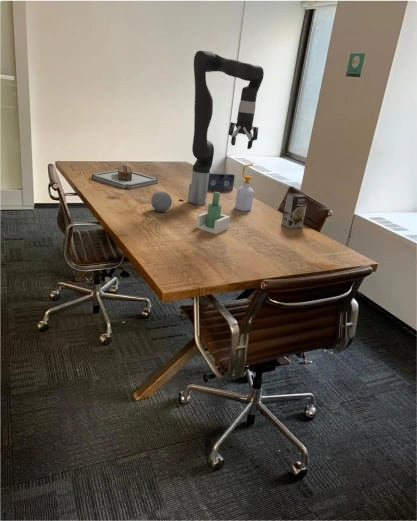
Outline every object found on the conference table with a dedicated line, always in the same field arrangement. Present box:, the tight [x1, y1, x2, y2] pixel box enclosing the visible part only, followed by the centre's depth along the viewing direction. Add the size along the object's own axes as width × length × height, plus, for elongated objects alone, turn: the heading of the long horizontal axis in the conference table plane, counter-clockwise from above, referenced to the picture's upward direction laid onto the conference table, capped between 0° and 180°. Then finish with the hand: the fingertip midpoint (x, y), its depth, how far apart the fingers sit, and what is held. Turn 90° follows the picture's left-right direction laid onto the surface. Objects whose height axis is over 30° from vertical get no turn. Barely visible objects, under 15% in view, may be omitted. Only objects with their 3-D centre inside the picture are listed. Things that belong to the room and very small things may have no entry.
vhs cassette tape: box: [207, 172, 236, 192], centre depth 274 cm, size 18×3×10 cm, turn 108°
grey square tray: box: [91, 165, 159, 190], centre depth 267 cm, size 30×30×8 cm
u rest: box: [195, 211, 231, 235], centre depth 206 cm, size 11×11×6 cm
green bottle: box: [206, 191, 222, 228], centre depth 204 cm, size 6×6×16 cm
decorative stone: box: [150, 190, 173, 213], centre depth 220 cm, size 10×10×10 cm
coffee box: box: [281, 193, 309, 229], centre depth 223 cm, size 9×6×16 cm
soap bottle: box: [234, 163, 255, 212], centre depth 239 cm, size 9×9×25 cm
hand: (240, 147), depth 211 cm, fingers open, 8 cm apart
